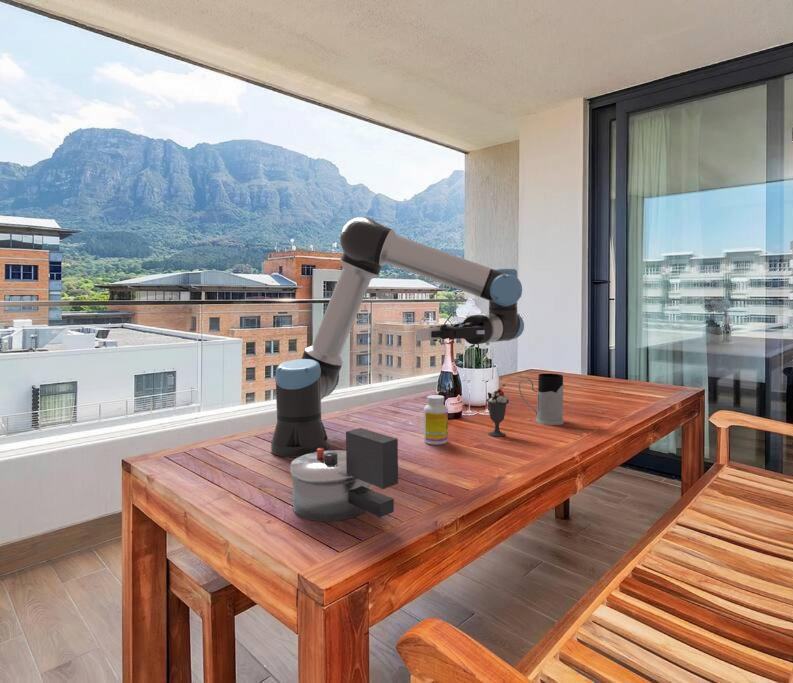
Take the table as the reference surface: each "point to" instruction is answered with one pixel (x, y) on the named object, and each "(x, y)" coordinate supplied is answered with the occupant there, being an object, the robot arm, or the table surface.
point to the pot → (338, 500)
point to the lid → (352, 461)
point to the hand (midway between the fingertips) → (419, 334)
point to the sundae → (497, 410)
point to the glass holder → (548, 399)
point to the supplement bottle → (435, 421)
